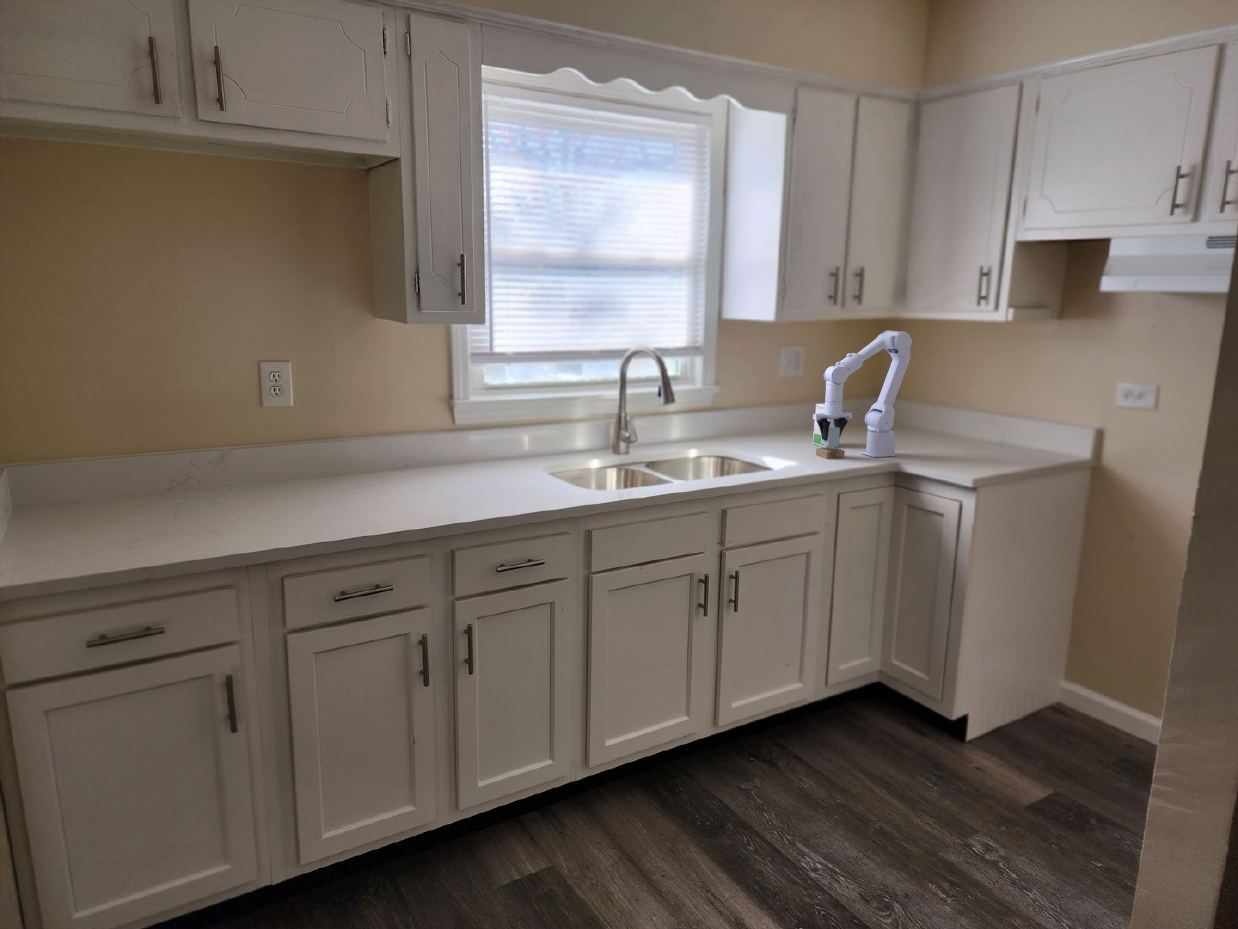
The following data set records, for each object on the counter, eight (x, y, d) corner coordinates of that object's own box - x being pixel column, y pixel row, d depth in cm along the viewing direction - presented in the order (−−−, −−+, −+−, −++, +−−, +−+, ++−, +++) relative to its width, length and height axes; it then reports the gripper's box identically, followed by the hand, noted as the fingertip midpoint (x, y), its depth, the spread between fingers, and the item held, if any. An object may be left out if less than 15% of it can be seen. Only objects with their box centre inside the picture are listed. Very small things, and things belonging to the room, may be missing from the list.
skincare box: (811, 444, 310) (814, 403, 307) (825, 443, 313) (828, 402, 310) (826, 448, 303) (829, 406, 300) (840, 447, 306) (843, 405, 302)
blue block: (831, 443, 288) (832, 426, 287) (839, 445, 284) (840, 427, 283) (820, 443, 287) (821, 426, 286) (828, 445, 283) (829, 428, 282)
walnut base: (833, 455, 291) (833, 447, 291) (844, 459, 285) (844, 450, 284) (815, 456, 289) (816, 447, 288) (826, 460, 283) (827, 451, 282)
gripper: (844, 399, 288) (841, 436, 291) (809, 400, 283) (806, 438, 286) (856, 401, 282) (853, 440, 285) (820, 402, 277) (817, 442, 280)
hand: (830, 439), depth 285 cm, fingers closed on blue block, 4 cm apart
